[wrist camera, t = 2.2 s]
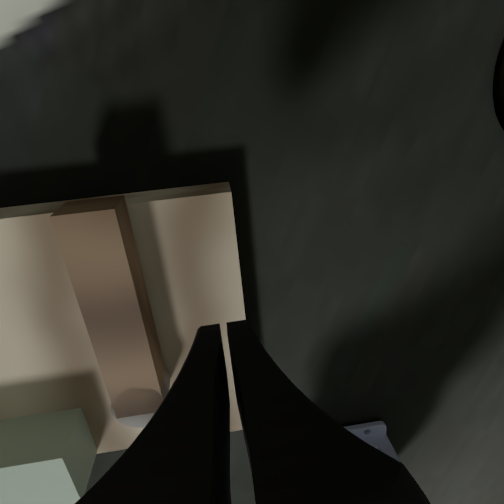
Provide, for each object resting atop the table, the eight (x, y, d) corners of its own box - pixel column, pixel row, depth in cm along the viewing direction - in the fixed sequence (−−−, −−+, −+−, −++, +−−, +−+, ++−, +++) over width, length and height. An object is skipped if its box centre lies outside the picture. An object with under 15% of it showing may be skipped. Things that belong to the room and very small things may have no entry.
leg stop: (81, 407, 21) (62, 458, 19) (97, 450, 23) (82, 503, 20) (-28, 424, 21) (-65, 478, 18) (-4, 466, 23) (-35, 523, 20)
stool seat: (228, 181, 19) (231, 191, 17) (253, 402, 26) (257, 427, 24) (-135, 223, 18) (-172, 239, 16) (-11, 445, 24) (-28, 474, 23)
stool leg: (174, 394, 22) (171, 422, 20) (125, 402, 21) (117, 431, 20) (127, 194, 17) (118, 208, 15) (62, 202, 16) (45, 217, 15)
